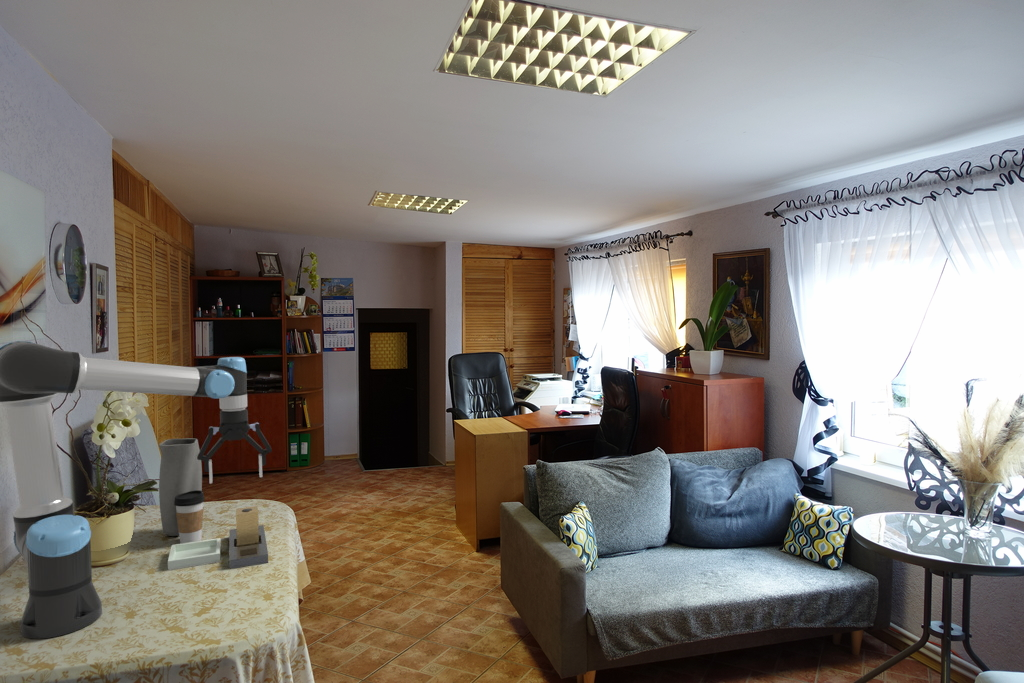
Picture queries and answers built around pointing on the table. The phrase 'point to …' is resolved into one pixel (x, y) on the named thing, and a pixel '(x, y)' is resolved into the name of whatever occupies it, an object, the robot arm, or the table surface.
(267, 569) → the table surface
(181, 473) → the vase
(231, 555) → the rail
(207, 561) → the parts tray
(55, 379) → the robot arm
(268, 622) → the table surface
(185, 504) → the coffee cup
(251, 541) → the block
